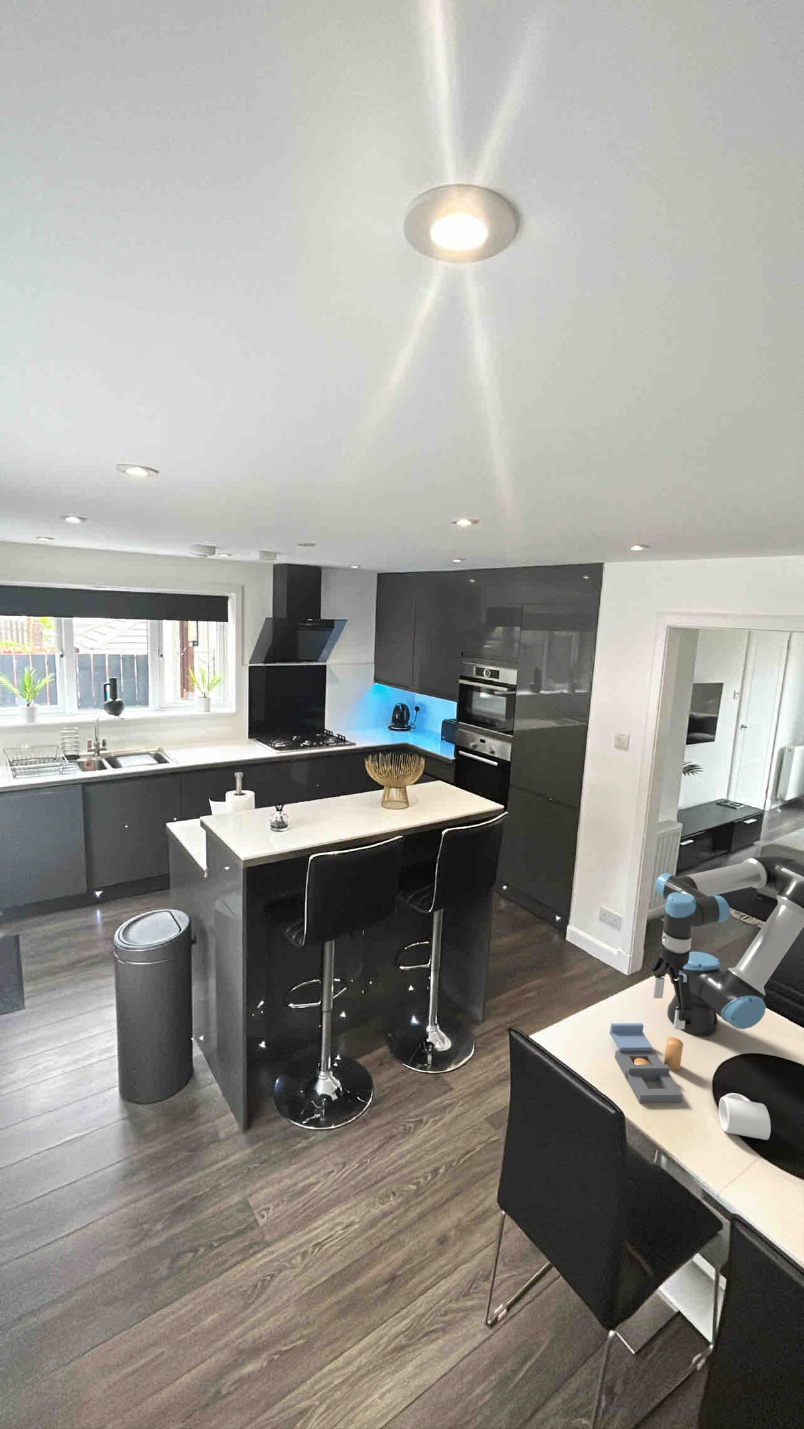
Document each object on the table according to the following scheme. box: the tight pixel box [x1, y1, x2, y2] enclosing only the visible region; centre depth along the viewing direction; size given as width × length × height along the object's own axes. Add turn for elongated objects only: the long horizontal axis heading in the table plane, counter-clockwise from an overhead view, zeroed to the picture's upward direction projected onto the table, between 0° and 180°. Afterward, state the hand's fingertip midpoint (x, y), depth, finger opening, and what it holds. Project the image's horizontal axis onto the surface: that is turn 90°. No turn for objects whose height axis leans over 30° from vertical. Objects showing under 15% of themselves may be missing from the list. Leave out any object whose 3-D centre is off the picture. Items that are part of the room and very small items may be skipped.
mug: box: [718, 1092, 772, 1141], centre depth 164 cm, size 12×10×8 cm
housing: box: [614, 1049, 684, 1104], centre depth 179 cm, size 12×17×4 cm
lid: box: [609, 1022, 653, 1051], centre depth 190 cm, size 10×8×4 cm
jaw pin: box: [663, 1036, 684, 1072], centre depth 184 cm, size 4×4×8 cm
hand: (667, 1012), depth 182 cm, fingers open, 13 cm apart
